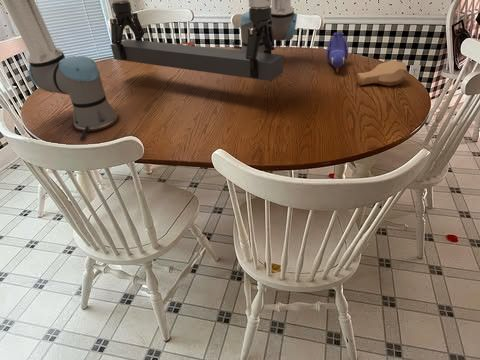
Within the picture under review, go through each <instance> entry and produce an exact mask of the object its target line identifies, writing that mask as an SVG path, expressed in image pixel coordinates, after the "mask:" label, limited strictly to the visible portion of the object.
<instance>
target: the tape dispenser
mask: <svg viewBox="0 0 480 360" xmlns="http://www.w3.org/2000/svg"><path fill="white" fill-rule="evenodd" d="M179 44H180V45H190V46H196V44H195V42H194V41H188V42H182V43H181V42H180V43H179Z"/></svg>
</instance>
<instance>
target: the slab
mask: <svg viewBox="0 0 480 360" xmlns="http://www.w3.org/2000/svg"><path fill="white" fill-rule="evenodd" d="M121 44H123V47H124V51H125V55H126V60H122V59H121V58H120V54H119V52H118V50H117V46H116V44H112V43H111V44H110V48H111V51H112V55H113V59H114V60H116V61H122V62H123V61H124V62H130V63H136V64H137V63H138V64H145V65H152V66H158V67H159V66H160V67H167V68H174V69H182V70H188V71H194V72H195V71H196V72H202V73H203V72H204V73H211V74H217V75H225V76H231V77H240V78H245V79H253V80H260V81H266V82H273V81H274V80H275V79H276V78H278V77H279V76H281V75H282V74H283V73H284V70H285V69H284V68H285V67H284V63H285V62H284V61H285V60H284V59H285V57H284V55H285V54H279V53H271V54H269V53H259V52H258V53H257V57H256V59H258V78H252V77H250V60H249V59H246V52H247V51H241V50H238V49H229V48H221V47H220V48H219V47H208V46H198V45H195V46H190V45H188V44H183V45H180V44H181V43H168V42H161V41H160V42H159V41H150V40H142V41H140V40H136V39H131V38H129V39H128V38H125V39H124V40H123V39H122V42H121Z"/></svg>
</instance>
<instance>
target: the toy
mask: <svg viewBox="0 0 480 360" xmlns="http://www.w3.org/2000/svg"><path fill="white" fill-rule="evenodd" d="M344 34H345V33H344V32H342V31H341V32H339V33H338V32H333V34H332V35H333V36H332V37H330V38H329V40H328V42H327V47H326V60H327V61H328V62H329V63H330V65H332V66H333V68H335V71H336V74H338V72H339V70H340V69H339V68H342V66H343V65H344V64H345V62H346V60H348V58H349V57H348V56H349V44H348V40H347V38H346V36H343V35H344Z"/></svg>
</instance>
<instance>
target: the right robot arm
mask: <svg viewBox="0 0 480 360" xmlns="http://www.w3.org/2000/svg"><path fill="white" fill-rule="evenodd" d="M291 2H292V0H248V7H249V9H248V11H247V12H245V13H243V14H241V16H240V35H241V39H240V40H241V46H237V45H235V41H233V42H232V46H233V47H234V48H236V49H240V51H247V52H246V59H249V60H250V77H252V78H258V59H256V57H257V53H258V52H259V53H269V54H272V51H274V50H275V45H276V43H275V41H283V42H285V41H290V40H292V39H293V38H294V36H295V31H296V25H297V21H298V20H297V19H298V14H297V13H296V12H295V9H294V8H293V6H292V5H291V4H292V3H291ZM252 78H251V79H252Z"/></svg>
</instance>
